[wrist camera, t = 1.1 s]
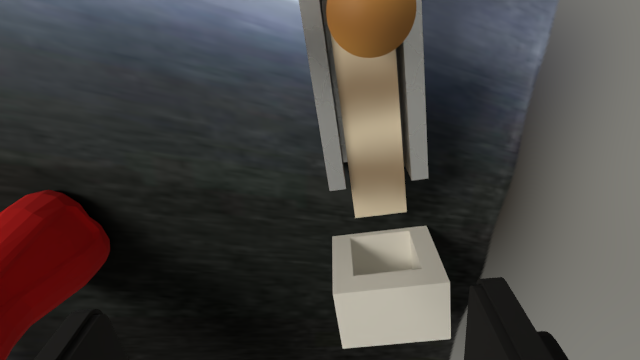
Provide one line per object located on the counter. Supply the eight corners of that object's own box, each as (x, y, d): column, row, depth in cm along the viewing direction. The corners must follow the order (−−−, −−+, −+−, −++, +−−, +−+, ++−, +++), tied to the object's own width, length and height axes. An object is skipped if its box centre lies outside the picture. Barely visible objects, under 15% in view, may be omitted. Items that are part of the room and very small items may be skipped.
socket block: (332, 236, 37) (332, 294, 30) (426, 225, 37) (450, 282, 29) (340, 284, 40) (342, 348, 33) (428, 275, 39) (450, 338, 32)
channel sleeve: (292, -83, 26) (282, -102, 21) (398, -103, 26) (416, -129, 20) (329, 159, 34) (329, 190, 29) (412, 148, 33) (428, 178, 28)
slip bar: (317, -73, 25) (308, -117, 15) (377, -84, 25) (410, -137, 15) (352, 194, 34) (362, 280, 24) (398, 188, 34) (428, 273, 23)
